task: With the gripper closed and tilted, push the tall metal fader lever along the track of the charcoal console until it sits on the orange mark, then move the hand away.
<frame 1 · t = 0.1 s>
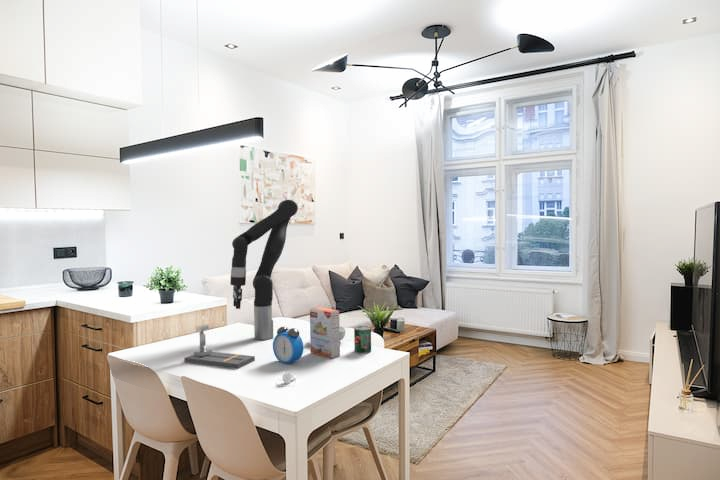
hand: (236, 307, 234), 17 cm above the table, tool pointing down, fingers open, 8 cm apart
alarm clock: (288, 362, 197), on the table
cracker box: (324, 355, 208), on the table
fader: (202, 340, 202), point 9 cm above the table, slide at 0.0 cm
canned tomato: (362, 351, 213), on the table
cereal bowl: (328, 343, 230), on the table
console: (219, 361, 199), on the table
teacup and saucer: (295, 384, 171), on the table
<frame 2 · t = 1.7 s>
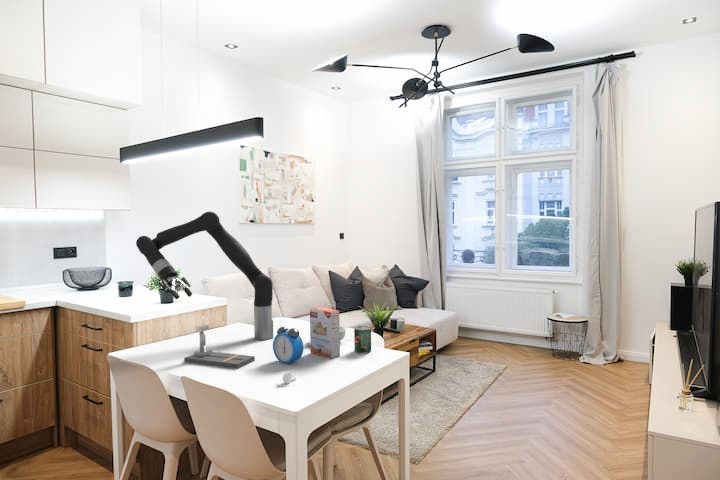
hand: (184, 296, 209), 27 cm above the table, tool tilted 45°, fingers open, 7 cm apart
nothing on the table moved.
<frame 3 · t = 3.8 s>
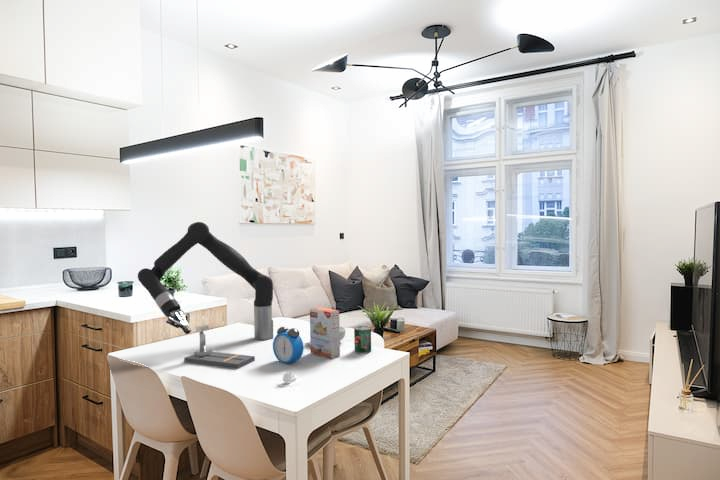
hand: (189, 332, 205), 11 cm above the table, tool tilted 45°, fingers closed
nothing on the table moved.
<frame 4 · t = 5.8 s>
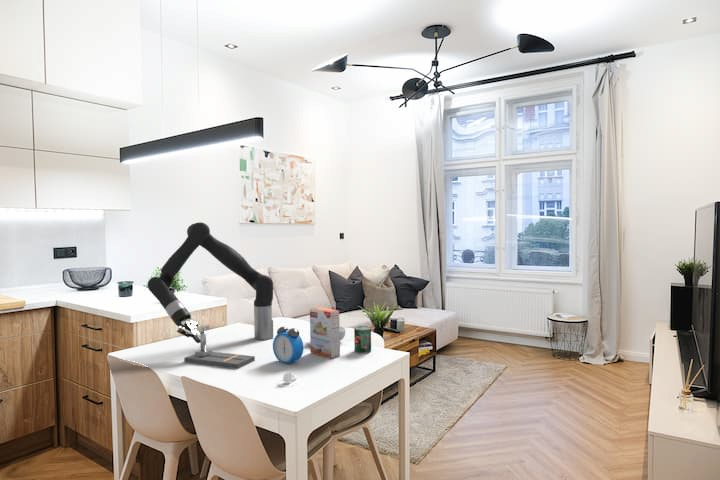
hand: (200, 341, 203), 8 cm above the table, tool tilted 45°, fingers closed
fader: (203, 340, 202), point 9 cm above the table, slide at 0.4 cm, touching gripper
everything else where it was.
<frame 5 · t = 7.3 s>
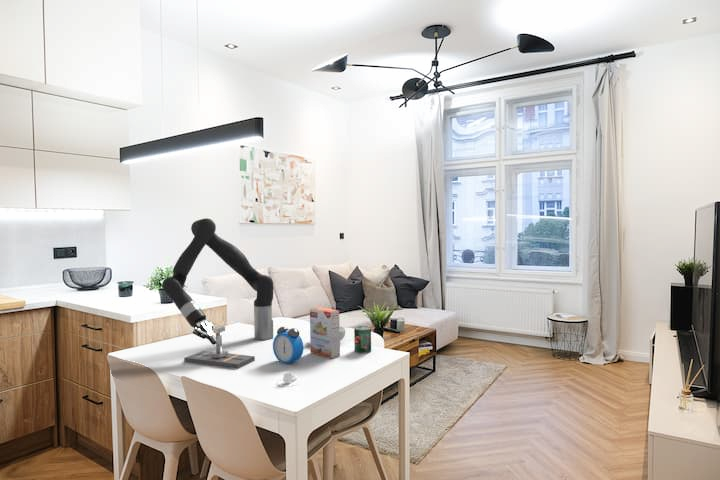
hand: (215, 343, 200), 8 cm above the table, tool tilted 45°, fingers closed
fader: (218, 341, 199), point 9 cm above the table, slide at 8.9 cm, touching gripper
everything else where it was.
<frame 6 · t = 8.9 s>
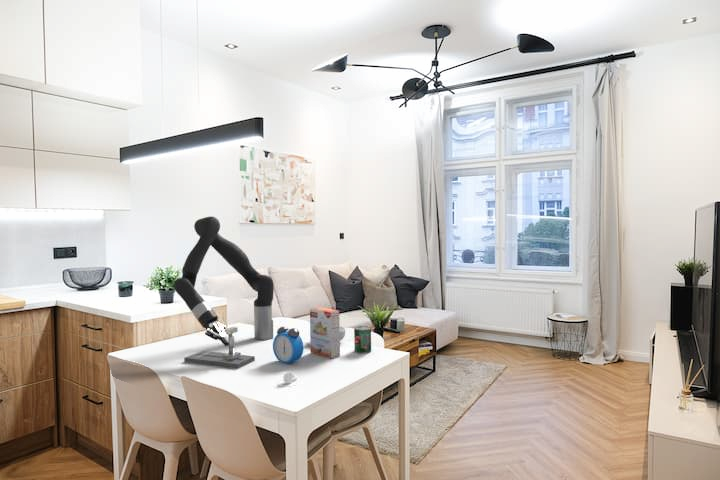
hand: (228, 344, 197), 8 cm above the table, tool tilted 45°, fingers closed
fader: (231, 342, 196), point 9 cm above the table, slide at 15.5 cm, touching gripper
everything else where it was.
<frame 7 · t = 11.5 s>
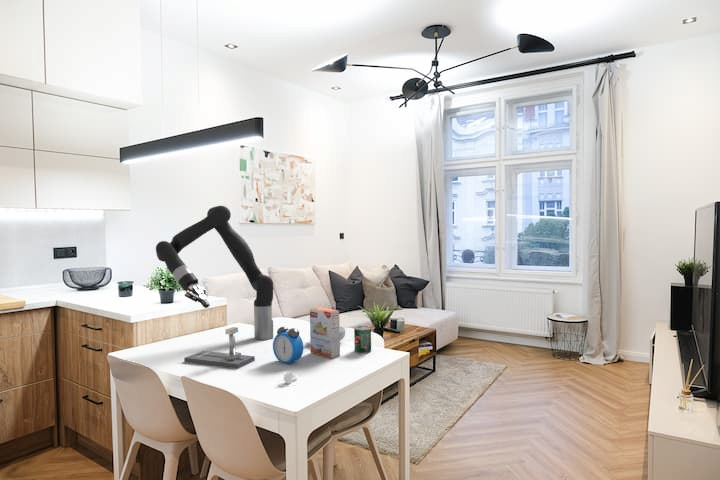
hand: (207, 306, 201), 24 cm above the table, tool tilted 45°, fingers closed
fader: (232, 343, 196), point 9 cm above the table, slide at 15.8 cm
everything else where it was.
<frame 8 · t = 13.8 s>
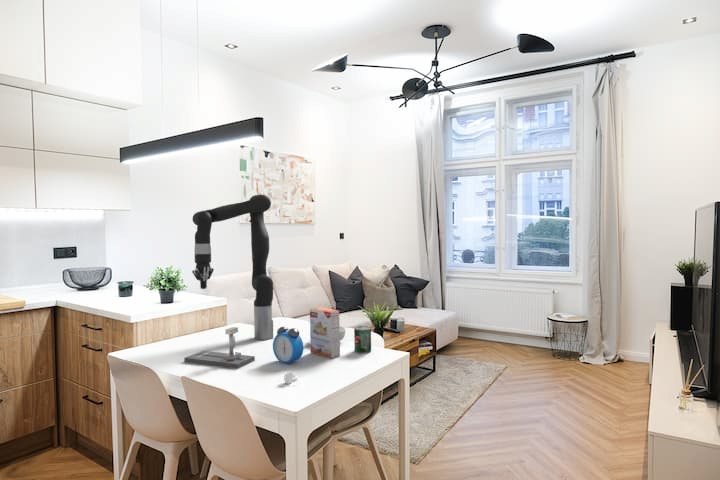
hand: (203, 288, 220), 29 cm above the table, tool pointing down, fingers closed
nothing on the table moved.
at the end: fader slide at 15.8 cm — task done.
